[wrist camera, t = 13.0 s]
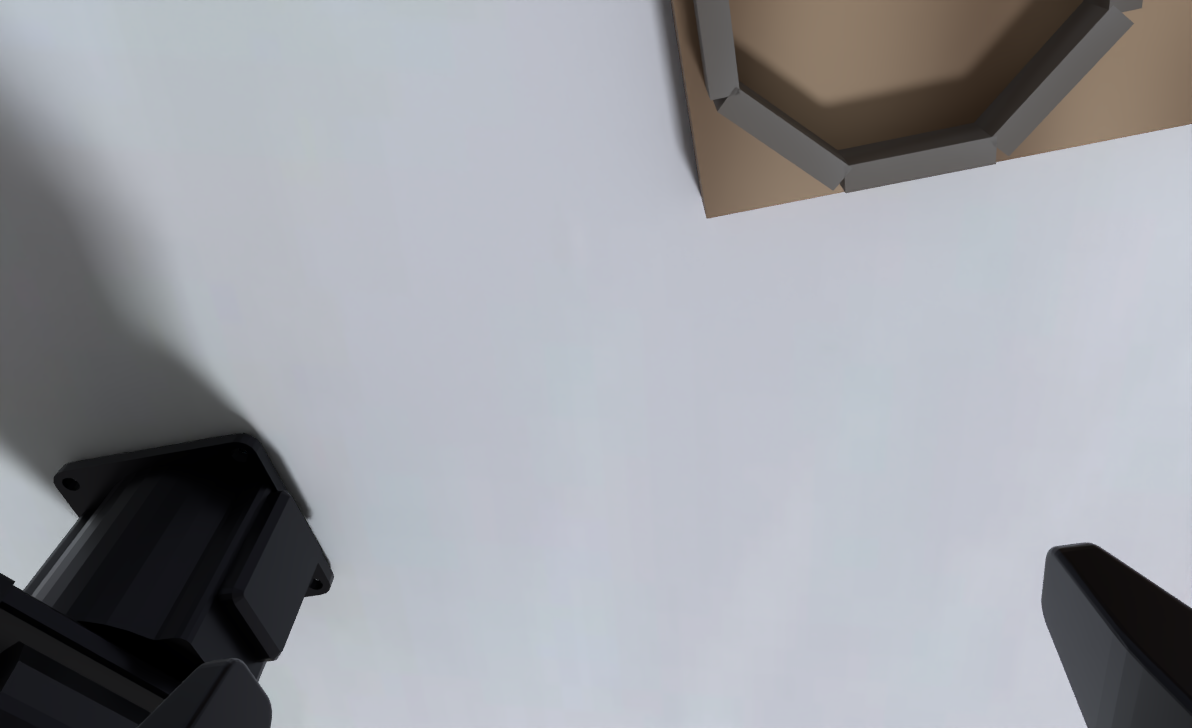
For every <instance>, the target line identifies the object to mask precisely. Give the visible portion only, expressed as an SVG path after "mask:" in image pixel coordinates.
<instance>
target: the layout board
mask: <svg viewBox="0 0 1192 728" xmlns="http://www.w3.org/2000/svg"><path fill="white" fill-rule="evenodd" d="M671 6H672V12H673V18H674V25H675V31H676V37H677V44H678V50H679V56H680V63H681V69H682V76H683V82H684V88H685V95H686V101H687V107H688V114H689V120H690V127H691V133H692V139H693V146H694V152H695V158H696V165H697V171H698V178H699V184H700V190H701V197H702V202H703V206H704V210H705V214H706V218H712V217H718V216H723V215H728V214H733V213H738V212H743V211H748V210H753V209H758V208H764V207H769V206H774V205H779V204H784V203H789V202H794V201H799V200H805V199H810V198H815V197H820V196H825V195H830V194H835V193H840V192H845V193H849V192H854V191H859V190H864V189H870V188H875V187H880V186H885V185H890V184H895V183H900V182H905V181H911V180H916V179H921V178H926V177H931V176H936V175H941V174H946V173H952V172H957V171H962V170H967V169H972V168H977V167H982V166H987V165H993V164H996V162H999V161H1004V160H1009V159H1014V158H1020V157H1025V156H1030V155H1035V154H1040V153H1045V152H1050V151H1055V150H1060V149H1066V148H1071V147H1076V146H1081V145H1086V144H1091V143H1096V142H1101V141H1107V140H1112V139H1117V138H1122V137H1127V136H1132V135H1137V134H1142V133H1148V132H1153V131H1158V130H1163V129H1168V128H1173V127H1178V126H1183V125H1188V124H1192V0H671Z"/></svg>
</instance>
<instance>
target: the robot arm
mask: <svg viewBox="0 0 1192 728" xmlns="http://www.w3.org/2000/svg"><path fill="white" fill-rule="evenodd" d="M239 449H243V450H245V451H246V452H247V453H243V452H241V451H240V450H239ZM75 480H76V481H75ZM54 484H55V486H56V487H57V489H58V490H59V491H60V493H61V494H62V495H63V497H64V498H65V499H66V501H67V502H68V503H69V505H70V506H71V507H72V509H73V510H74V511H75V513H76V514H77V515H78V517H79V519H78V520H77V522H76V523H75V524H74V526H73V527H72V528H71V529H70V531H69V532H68V533H67V535H66V536H65V537H64V538H63V540H62V541H61V542H60V544H59V545H58V546H57V548H56V549H55V550H54V551H53V553H52V554H51V555H50V557H49V558H48V559H47V560H46V562H45V563H44V564H43V566H42V567H41V568H40V569H39V571H38V572H37V573H36V575H35V576H34V577H33V578H32V580H31V581H30V582H29V584H28V585H27V586H26V588H25V589H24V590H23V591H22V590H21V589H19V588H17V587H15V586H14V585H13V584H14V583H15V581H13V580H12V579H10V578H8V577H6V576H5V575H3V574H1V573H0V728H270V727H271V720H272V709H271V703H270V700H269V698H268V696H267V695H266V693H265V692H264V690H263V689H262V687H261V686H260V684H259V683H258V681H259V678H260V676H261V674H262V671H263V669H264V666H265V664H266V662H267V661H274V660H277V658H278V657H279V655H280V654H281V652H282V651H283V648H284V646H285V643H286V641H287V639H288V636H289V634H290V631H291V629H292V626H293V624H294V621H295V619H296V616H297V614H298V611H299V609H300V606H301V604H302V601H303V599H304V597H308V596H315V595H321V594H325V593H327V592H328V591H329V590H330V587H331V584H332V582H333V579H334V575H333V572H332V570H331V569H330V567H329V565H328V563H327V561H326V560H325V558H324V556H323V554H322V550H321V547H320V546H319V544H318V542H317V540H316V538H315V537H314V535H313V533H312V531H311V529H310V528H309V526H308V524H307V522H306V520H305V519H304V517H303V515H302V513H301V511H300V510H299V508H298V506H297V504H296V502H295V501H294V499H293V497H292V496H291V495H290V494H289V493H288V491H287V490H286V488H285V486H284V484H283V482H282V481H281V479H280V477H279V475H278V473H277V472H276V470H275V468H274V466H273V464H272V463H271V461H270V459H269V457H268V455H267V454H266V452H265V450H264V448H263V446H262V445H261V443H260V442H259V441H258V440H257V439H256V438H254V437H253V436H251V435H248V434H233V435H227V436H221V437H216V438H210V439H204V440H198V441H193V442H187V443H181V444H175V445H170V446H164V447H158V448H152V449H147V450H141V451H135V452H130V453H124V454H118V455H112V456H107V457H101V458H95V459H89V460H84V461H78V462H72V463H68V464H65V465H64V466H63V467H62V468H61V469H60V470H59V472H58V473H57V474H56V475H55V476H54ZM316 579H317V580H316ZM1041 603H1042V611H1043V615H1044V619H1045V622H1046V625H1047V627H1048V630H1049V632H1050V635H1051V637H1052V640H1053V642H1054V645H1055V647H1056V650H1057V652H1058V655H1059V657H1060V660H1061V662H1062V665H1063V667H1064V670H1065V672H1066V675H1067V677H1068V680H1069V682H1070V685H1071V687H1072V690H1073V692H1074V695H1075V697H1076V700H1077V702H1078V705H1079V707H1080V710H1081V712H1082V715H1083V717H1084V720H1085V722H1086V725H1087V727H1088V728H1192V608H1190V607H1189V606H1187V605H1186V604H1184V603H1183V602H1181V601H1180V600H1178V599H1177V598H1175V597H1174V596H1172V595H1171V594H1169V593H1168V592H1166V591H1165V590H1163V589H1162V588H1161V587H1159V586H1158V585H1156V584H1155V583H1153V582H1152V581H1150V580H1149V579H1147V578H1146V577H1144V576H1143V575H1141V574H1140V573H1138V572H1137V571H1135V570H1134V569H1132V568H1131V567H1129V566H1128V565H1126V564H1125V563H1123V562H1122V561H1120V560H1119V559H1117V558H1116V557H1114V556H1113V555H1111V554H1110V553H1108V552H1107V551H1105V550H1104V549H1102V548H1101V547H1099V546H1097V545H1095V544H1092V543H1077V544H1069V545H1062V546H1055V547H1052V548H1051V549H1050V550H1049V551H1048V553H1047V556H1046V561H1045V571H1044V580H1043V589H1042V598H1041Z"/></svg>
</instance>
